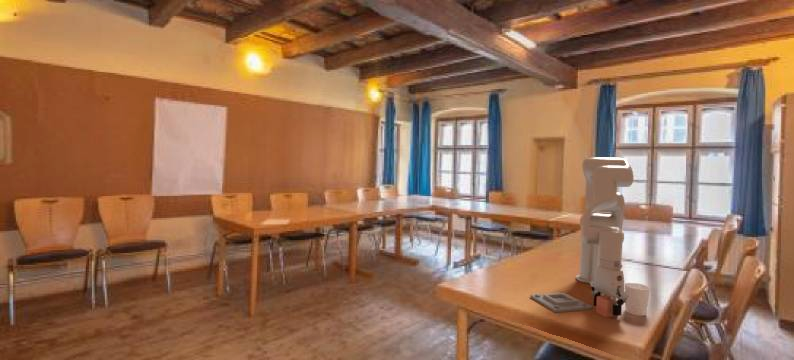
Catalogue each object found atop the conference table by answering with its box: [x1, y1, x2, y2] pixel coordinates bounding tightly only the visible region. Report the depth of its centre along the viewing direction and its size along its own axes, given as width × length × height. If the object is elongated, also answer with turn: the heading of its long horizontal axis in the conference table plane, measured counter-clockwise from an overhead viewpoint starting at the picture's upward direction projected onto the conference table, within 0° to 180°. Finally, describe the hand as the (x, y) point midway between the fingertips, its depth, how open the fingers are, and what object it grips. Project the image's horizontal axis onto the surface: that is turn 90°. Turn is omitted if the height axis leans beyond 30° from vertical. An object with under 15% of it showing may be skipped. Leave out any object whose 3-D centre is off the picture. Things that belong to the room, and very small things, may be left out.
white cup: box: [624, 282, 651, 317], centre depth 146 cm, size 8×8×10 cm
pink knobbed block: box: [595, 294, 618, 318], centre depth 144 cm, size 5×5×7 cm
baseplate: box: [529, 291, 593, 313], centre depth 155 cm, size 16×16×2 cm
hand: (606, 310), depth 144 cm, fingers open, 8 cm apart
